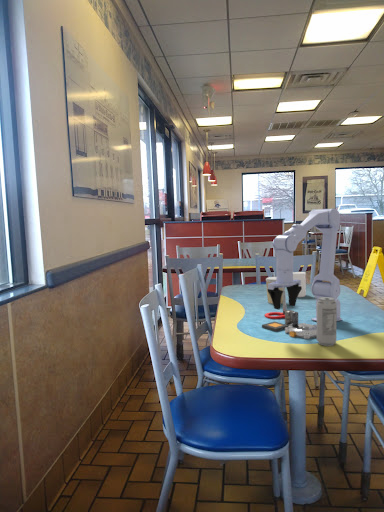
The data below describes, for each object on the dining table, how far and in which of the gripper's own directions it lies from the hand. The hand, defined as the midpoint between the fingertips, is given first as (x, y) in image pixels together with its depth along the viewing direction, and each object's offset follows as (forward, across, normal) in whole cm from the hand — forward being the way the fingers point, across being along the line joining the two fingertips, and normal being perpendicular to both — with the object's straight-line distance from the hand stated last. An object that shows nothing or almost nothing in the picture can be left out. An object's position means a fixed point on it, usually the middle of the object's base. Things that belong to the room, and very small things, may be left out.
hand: (284, 307), depth 131 cm
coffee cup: (+9, +34, +37) cm, 51 cm away
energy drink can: (+10, +3, -15) cm, 18 cm away
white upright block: (+9, +54, +41) cm, 68 cm away
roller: (+10, +11, +8) cm, 17 cm away
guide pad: (+10, +3, +8) cm, 13 cm away
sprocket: (+10, +7, -3) cm, 12 cm away
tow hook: (+10, +15, +19) cm, 26 cm away
